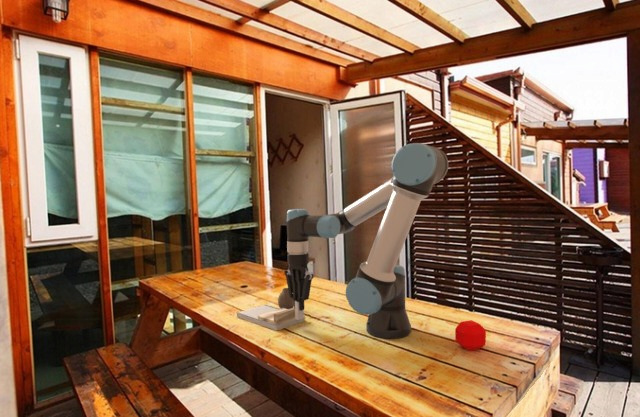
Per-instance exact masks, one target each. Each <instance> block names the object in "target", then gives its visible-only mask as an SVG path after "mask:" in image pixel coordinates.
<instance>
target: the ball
mask: <svg viewBox="0 0 640 417" xmlns="http://www.w3.org/2000/svg"><path fill="white" fill-rule="evenodd" d="M454 329H455V330H454V332H455V335H454V337H455V341H456V342H457V343H458V345H459V346H460V347H462V348H463V349H465V348H466V349H465V350H467V351H469V350H471V351H476V350H475V349H477V350H481V349H482V348H483V347H484V346H485V345H486V342H487V332H486V331H487V330H486V328H485V327H483V325H482V324H480V323H478V322H476V321H474V320H464V321H460V322H459V323H458V325H456V327H455V328H454ZM480 348H481V349H480Z"/></svg>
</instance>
